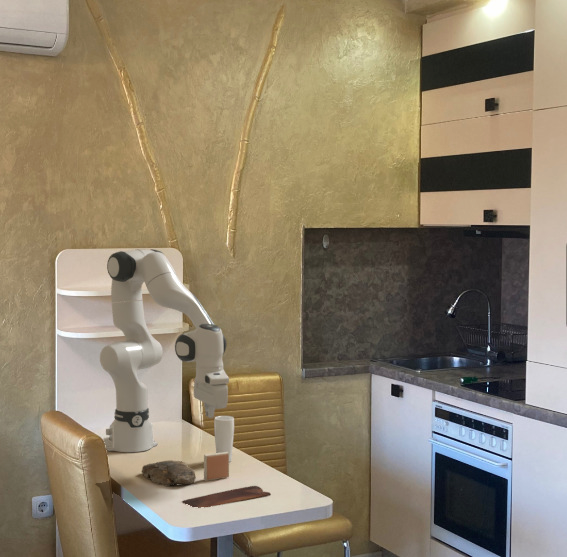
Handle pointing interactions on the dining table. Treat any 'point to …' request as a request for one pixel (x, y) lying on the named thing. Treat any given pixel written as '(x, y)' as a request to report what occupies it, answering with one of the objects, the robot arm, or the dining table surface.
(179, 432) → the dining table surface
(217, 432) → the drinking glass
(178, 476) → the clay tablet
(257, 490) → the wooden tablet
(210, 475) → the tile
